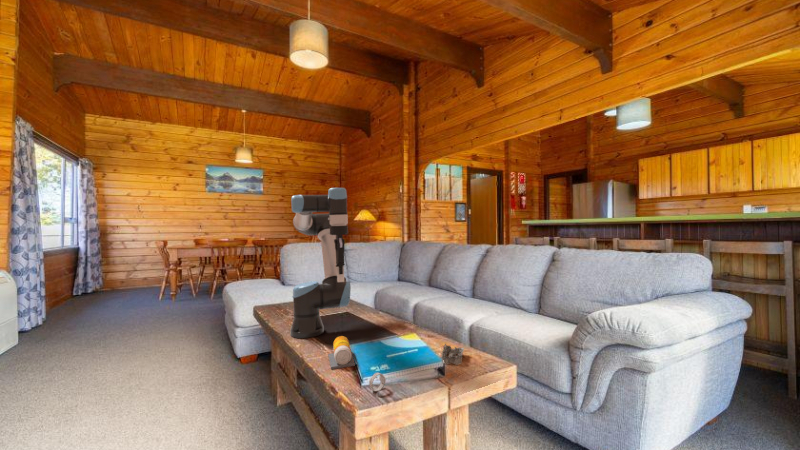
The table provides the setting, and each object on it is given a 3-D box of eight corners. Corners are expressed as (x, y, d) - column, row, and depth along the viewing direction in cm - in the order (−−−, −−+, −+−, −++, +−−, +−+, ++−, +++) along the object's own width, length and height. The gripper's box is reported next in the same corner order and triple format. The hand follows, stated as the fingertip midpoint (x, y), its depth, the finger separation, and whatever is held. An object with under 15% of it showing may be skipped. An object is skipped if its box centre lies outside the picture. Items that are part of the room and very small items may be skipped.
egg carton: (444, 353, 137) (444, 343, 137) (464, 355, 135) (464, 344, 135) (440, 364, 126) (439, 353, 126) (461, 366, 124) (461, 354, 124)
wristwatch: (386, 388, 109) (385, 372, 109) (373, 394, 106) (373, 378, 106) (380, 385, 111) (379, 369, 111) (367, 391, 108) (367, 375, 108)
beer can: (351, 345, 142) (354, 359, 128) (338, 353, 141) (339, 369, 127) (344, 332, 142) (346, 345, 127) (330, 340, 141) (331, 354, 126)
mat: (328, 355, 138) (328, 353, 138) (351, 352, 140) (351, 350, 140) (331, 369, 125) (331, 367, 125) (356, 365, 128) (356, 363, 128)
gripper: (328, 225, 154) (330, 280, 154) (330, 225, 142) (333, 285, 142) (345, 224, 156) (347, 278, 157) (349, 225, 144) (352, 283, 144)
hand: (340, 281), depth 149 cm, fingers closed
